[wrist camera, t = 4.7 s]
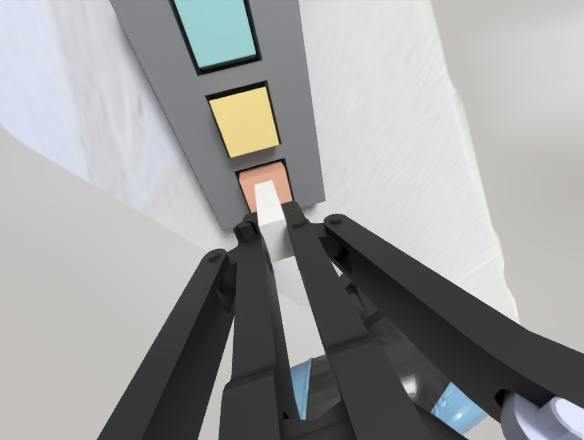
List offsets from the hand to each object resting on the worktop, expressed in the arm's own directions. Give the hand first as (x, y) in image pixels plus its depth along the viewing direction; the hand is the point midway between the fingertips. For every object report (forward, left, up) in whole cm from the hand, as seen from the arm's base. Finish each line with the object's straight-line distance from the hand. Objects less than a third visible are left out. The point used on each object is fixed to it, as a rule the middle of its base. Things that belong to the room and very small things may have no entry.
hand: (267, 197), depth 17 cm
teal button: (+13, 0, -10) cm, 16 cm away
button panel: (+5, 0, -11) cm, 12 cm away
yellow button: (+5, 0, -9) cm, 10 cm away
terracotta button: (-2, 0, -9) cm, 9 cm away
